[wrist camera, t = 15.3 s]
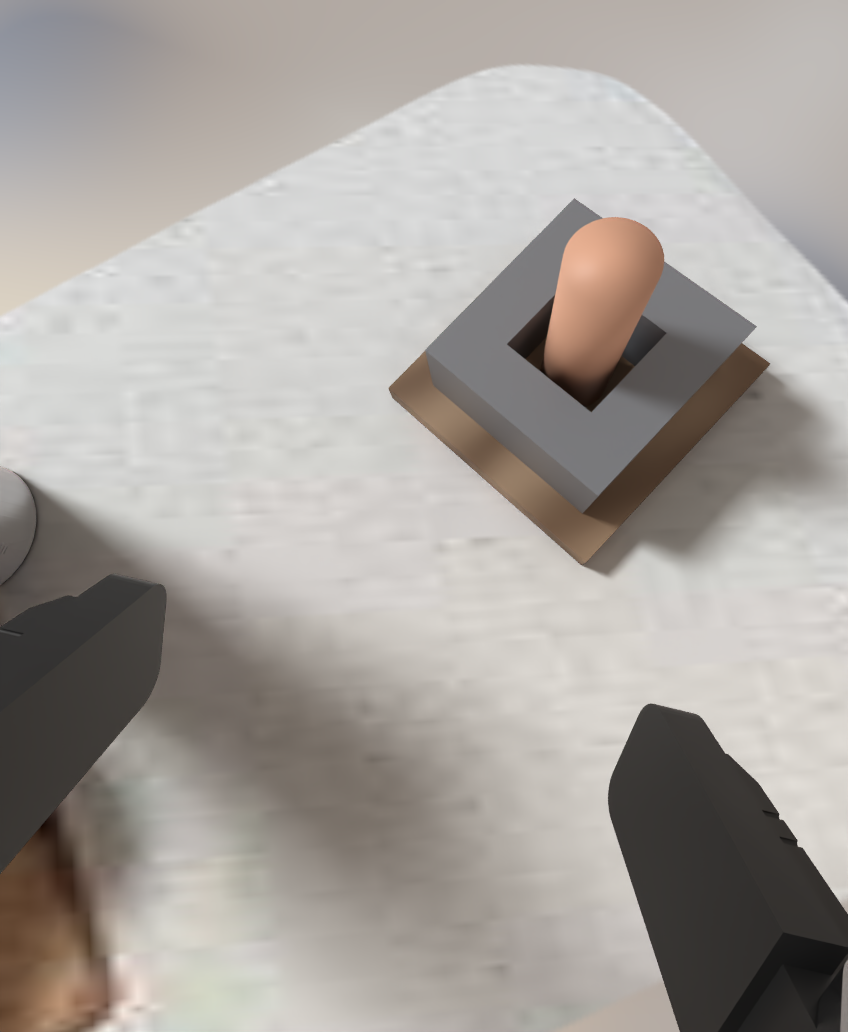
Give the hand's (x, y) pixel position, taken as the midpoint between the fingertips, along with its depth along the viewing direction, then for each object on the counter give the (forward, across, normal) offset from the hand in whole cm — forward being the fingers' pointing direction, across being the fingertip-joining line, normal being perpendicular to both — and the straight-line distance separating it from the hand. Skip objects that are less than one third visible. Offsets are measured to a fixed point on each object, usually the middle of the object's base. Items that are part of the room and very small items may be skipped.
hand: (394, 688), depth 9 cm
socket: (+27, -7, -5) cm, 28 cm away
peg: (+27, -7, -5) cm, 28 cm away
